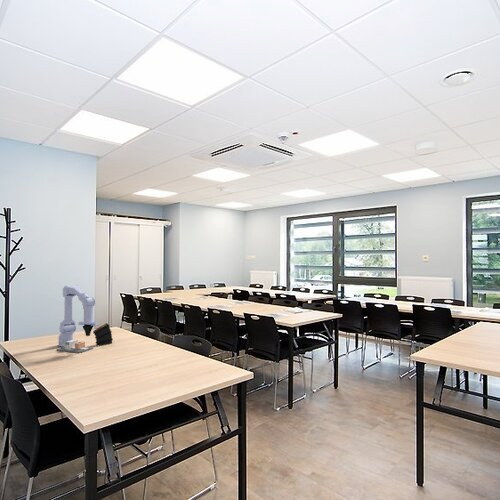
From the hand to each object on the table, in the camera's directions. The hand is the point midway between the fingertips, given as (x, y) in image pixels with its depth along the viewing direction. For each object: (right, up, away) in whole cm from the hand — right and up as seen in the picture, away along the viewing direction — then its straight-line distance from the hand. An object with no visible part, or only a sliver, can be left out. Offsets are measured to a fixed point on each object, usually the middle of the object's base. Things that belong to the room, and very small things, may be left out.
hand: (87, 335), depth 242 cm
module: (-13, -10, +4) cm, 17 cm away
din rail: (-10, -11, +3) cm, 15 cm away
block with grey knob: (-6, -9, +2) cm, 11 cm away
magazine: (+2, -11, +20) cm, 23 cm away
